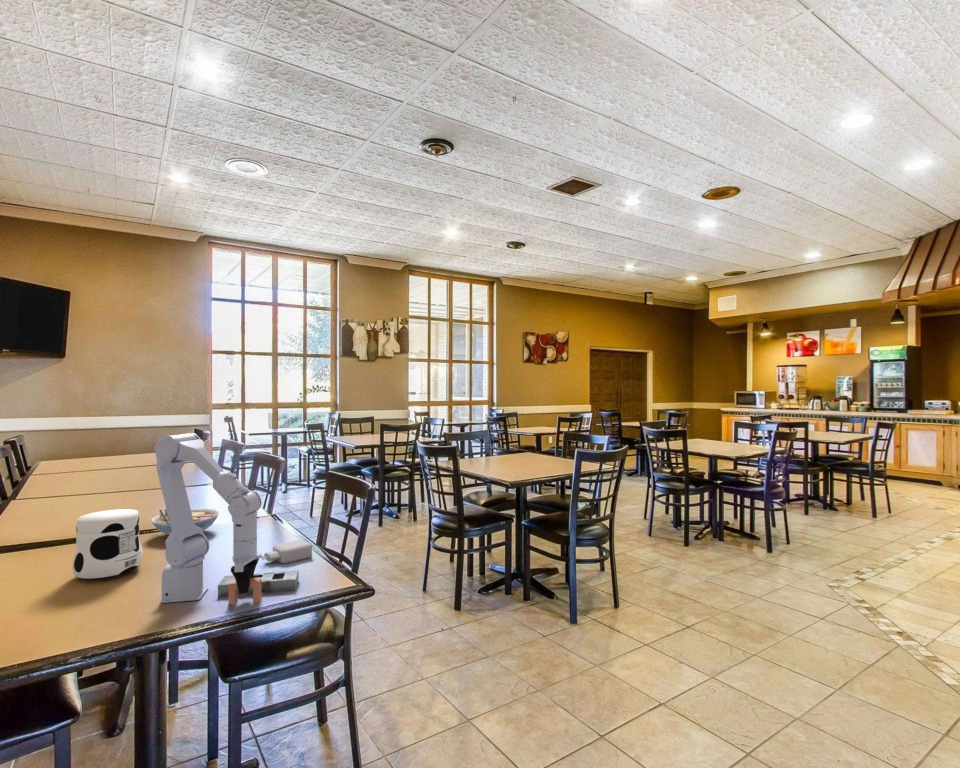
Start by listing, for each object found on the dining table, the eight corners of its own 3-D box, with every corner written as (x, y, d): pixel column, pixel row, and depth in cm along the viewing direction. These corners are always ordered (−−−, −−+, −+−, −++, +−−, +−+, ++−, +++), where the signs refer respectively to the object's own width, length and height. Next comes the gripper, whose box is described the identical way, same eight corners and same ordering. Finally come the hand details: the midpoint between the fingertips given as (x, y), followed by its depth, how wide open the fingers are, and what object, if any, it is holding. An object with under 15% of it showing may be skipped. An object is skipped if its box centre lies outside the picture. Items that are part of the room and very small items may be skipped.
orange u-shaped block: (228, 604, 135) (228, 583, 135) (231, 600, 138) (231, 579, 138) (259, 602, 137) (259, 581, 137) (261, 597, 140) (261, 577, 140)
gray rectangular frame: (217, 596, 141) (217, 585, 141) (224, 586, 147) (224, 576, 147) (295, 590, 145) (295, 579, 145) (298, 580, 152) (298, 570, 152)
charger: (255, 562, 168) (299, 552, 178) (266, 569, 161) (312, 558, 172) (255, 547, 168) (299, 538, 178) (266, 554, 161) (312, 544, 172)
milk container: (82, 569, 162) (82, 511, 162) (147, 561, 168) (147, 506, 168) (63, 589, 146) (63, 525, 146) (136, 579, 153) (136, 518, 153)
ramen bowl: (224, 537, 194) (224, 516, 194) (152, 548, 181) (152, 525, 181) (214, 523, 215) (214, 503, 215) (149, 532, 202) (149, 511, 202)
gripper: (255, 546, 131) (255, 599, 131) (266, 530, 145) (266, 578, 145) (225, 547, 130) (225, 602, 130) (239, 531, 144) (239, 580, 144)
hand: (245, 589), depth 137 cm, fingers closed on orange u-shaped block, 3 cm apart
